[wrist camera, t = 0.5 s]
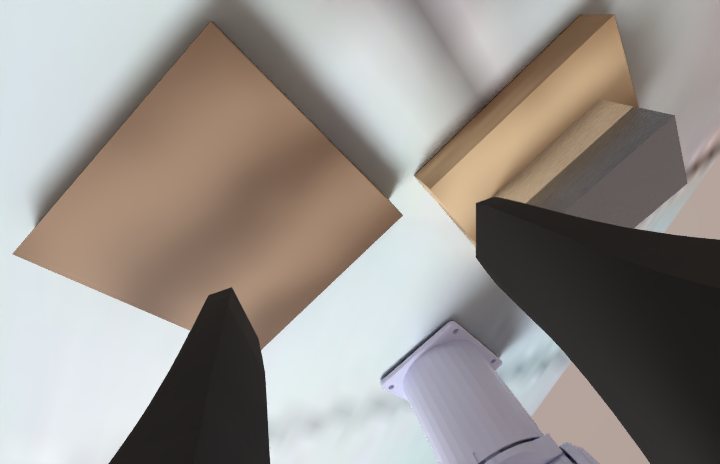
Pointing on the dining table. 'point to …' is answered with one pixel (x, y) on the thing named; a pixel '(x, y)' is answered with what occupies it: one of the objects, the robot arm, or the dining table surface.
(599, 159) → the grey rectangular block
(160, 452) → the robot arm
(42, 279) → the dining table surface
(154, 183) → the walnut stand
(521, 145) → the oak stand
